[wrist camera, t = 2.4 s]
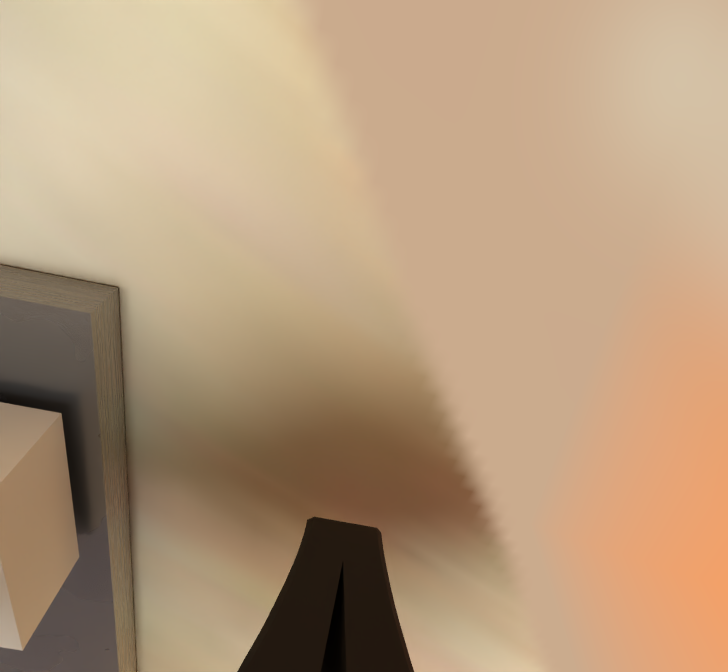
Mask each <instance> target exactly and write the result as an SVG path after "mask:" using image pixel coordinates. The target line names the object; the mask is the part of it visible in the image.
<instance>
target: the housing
mask: <svg viewBox="0 0 728 672" xmlns="http://www.w3.org/2000/svg"><path fill="white" fill-rule="evenodd" d="M78 558H79V550H78V542H77V534H76V526H75V518H74V510H73V502H72V494H71V486H70V478H69V470H68V462H67V454H66V446H65V438H64V430H63V422H62V414H61V413H57V412H52V411H46V410H41V409H35V408H30V407H24V406H19V405H13V404H8V403H2V402H0V647H3V648H9V649H16V650H22V651H23V649H24V648H25V646H26V644H27V643H28V641H29V639H30V638H31V636H32V634H33V633H34V631H35V629H36V628H37V626H38V624H39V623H40V621H41V619H42V618H43V616H44V615H45V613H46V611H47V610H48V608H49V606H50V605H51V603H52V601H53V600H54V598H55V596H56V595H57V593H58V591H59V590H60V588H61V586H62V585H63V583H64V581H65V580H66V578H67V576H68V575H69V573H70V571H71V570H72V568H73V566H74V565H75V563H76V561H77V560H78Z"/></svg>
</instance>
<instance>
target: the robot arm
mask: <svg viewBox="0 0 728 672" xmlns="http://www.w3.org/2000/svg"><path fill="white" fill-rule="evenodd" d="M237 672H414V670H413V667H412V664H411V661H410V657H409V654H408V650H407V647H406V643H405V640H404V637H403V633H402V630H401V626H400V623H399V619H398V615H397V611H396V608H395V604H394V600H393V595H392V591H391V587H390V582H389V578H388V573H387V568H386V563H385V557H384V551H383V544H382V536H381V532H380V531H379V530H378V529H377V528H374V527H368V526H363V525H357V524H351V523H346V522H340V521H334V520H329V519H323V518H318V517H313V518H311V519H308V520H307V524H306V528H305V532H304V536H303V539H302V542H301V545H300V548H299V551H298V553H297V556H296V558H295V561H294V563H293V566H292V568H291V570H290V572H289V575H288V577H287V579H286V582H285V584H284V586H283V588H282V590H281V592H280V594H279V596H278V598H277V600H276V602H275V604H274V606H273V608H272V610H271V612H270V614H269V616H268V618H267V620H266V622H265V624H264V626H263V628H262V629H261V631H260V633H259V635H258V637H257V638H256V640H255V642H254V643H253V645H252V647H251V649H250V650H249V652H248V654H247V656H246V657H245V659H244V661H243V663H242V664H241V666H240V668H239V670H238V671H237Z"/></svg>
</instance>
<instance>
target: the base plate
mask: <svg viewBox="0 0 728 672" xmlns="http://www.w3.org/2000/svg"><path fill="white" fill-rule="evenodd" d="M0 402H2V403H8V404H13V405H19V406H24V407H30V408H35V409H41V410H46V411H52V412H57V413H61V414H62V422H63V430H64V438H65V446H66V454H67V462H68V470H69V478H70V486H71V494H72V502H73V510H74V518H75V526H76V534H77V542H78V550H79V558H78V560H77V561H76V563H75V565H74V566H73V568H72V570H71V571H70V573H69V575H68V576H67V578H66V580H65V581H64V583H63V585H62V586H61V588H60V590H59V591H58V593H57V595H56V596H55V598H54V600H53V601H52V603H51V605H50V606H49V608H48V610H47V611H46V613H45V615H44V616H43V618H42V619H41V621H40V623H39V624H38V626H37V628H36V629H35V631H34V633H33V634H32V636H31V638H30V639H29V641H28V643H27V644H26V646H25V648H24V649H23V651H22V650H16V649H9V648H3V647H0V672H137V670H136V649H135V628H134V607H133V586H132V566H131V545H130V524H129V503H128V482H127V462H126V441H125V420H124V399H123V379H122V358H121V337H120V316H119V295H118V288H117V287H112V286H107V285H102V284H97V283H91V282H86V281H81V280H76V279H71V278H66V277H61V276H55V275H50V274H45V273H40V272H35V271H30V270H25V269H19V268H14V267H9V266H4V265H0Z"/></svg>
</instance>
